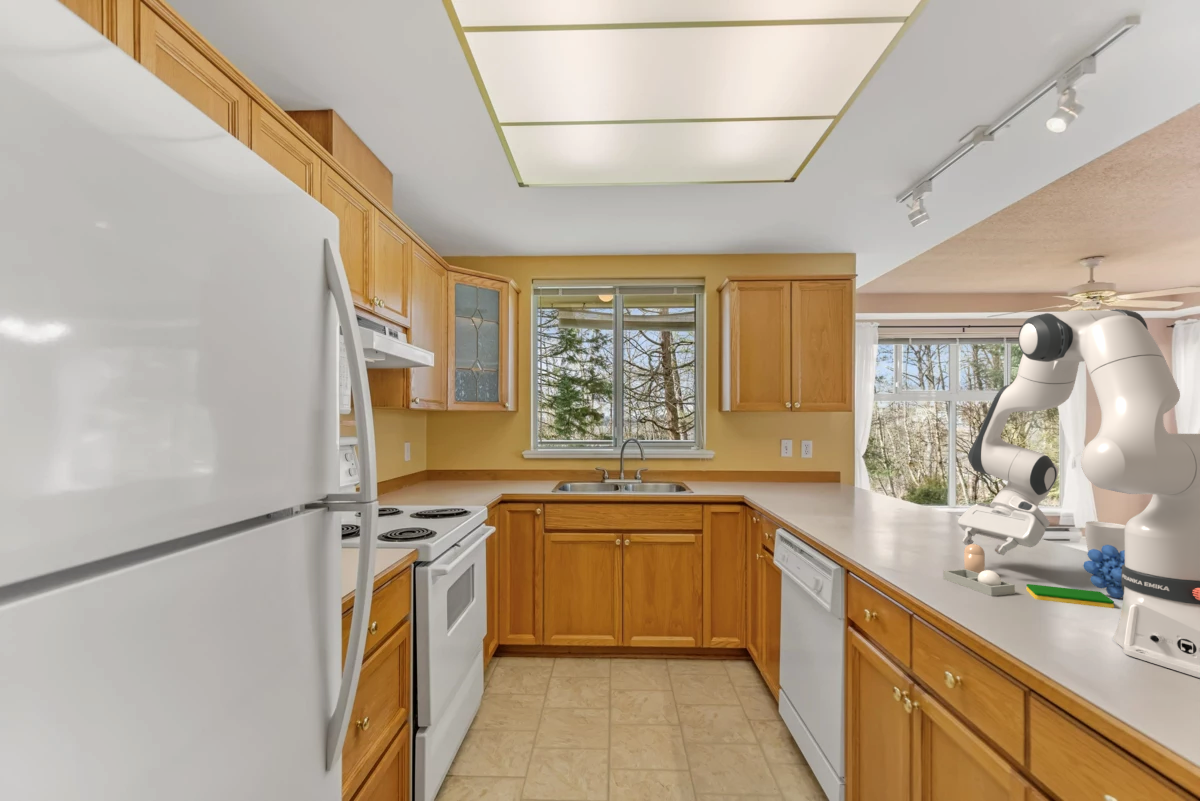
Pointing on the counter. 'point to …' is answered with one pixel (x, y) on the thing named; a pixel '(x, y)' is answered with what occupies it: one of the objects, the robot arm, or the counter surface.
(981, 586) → the carton
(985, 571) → the white egg
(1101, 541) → the cup
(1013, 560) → the counter surface
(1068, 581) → the counter surface
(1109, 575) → the grapes
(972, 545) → the tan rounded cylinder
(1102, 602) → the dish sponge
